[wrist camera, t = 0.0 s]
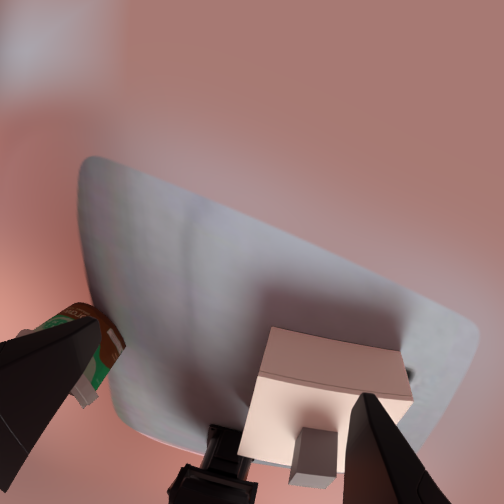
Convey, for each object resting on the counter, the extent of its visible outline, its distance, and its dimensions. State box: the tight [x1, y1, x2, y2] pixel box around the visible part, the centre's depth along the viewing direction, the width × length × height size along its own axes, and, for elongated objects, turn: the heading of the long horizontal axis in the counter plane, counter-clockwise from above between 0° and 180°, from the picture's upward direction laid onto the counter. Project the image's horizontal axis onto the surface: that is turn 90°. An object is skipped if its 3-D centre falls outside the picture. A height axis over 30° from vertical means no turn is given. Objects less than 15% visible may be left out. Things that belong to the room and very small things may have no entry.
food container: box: [16, 302, 126, 409], centre depth 26 cm, size 12×6×10 cm, turn 92°
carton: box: [259, 327, 412, 397], centre depth 24 cm, size 12×12×6 cm
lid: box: [237, 371, 414, 489], centre depth 19 cm, size 12×12×5 cm
